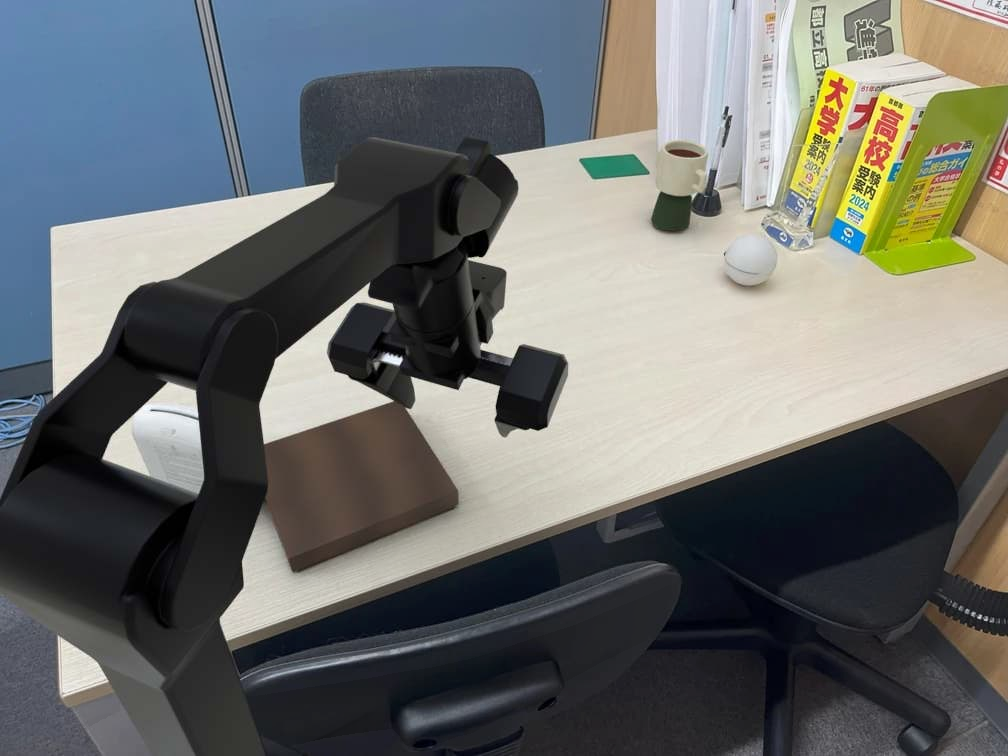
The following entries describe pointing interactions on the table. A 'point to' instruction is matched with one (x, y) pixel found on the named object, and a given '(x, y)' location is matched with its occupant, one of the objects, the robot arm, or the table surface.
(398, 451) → the walnut stand
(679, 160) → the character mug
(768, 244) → the seamed sphere
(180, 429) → the photo printer
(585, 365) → the table surface
